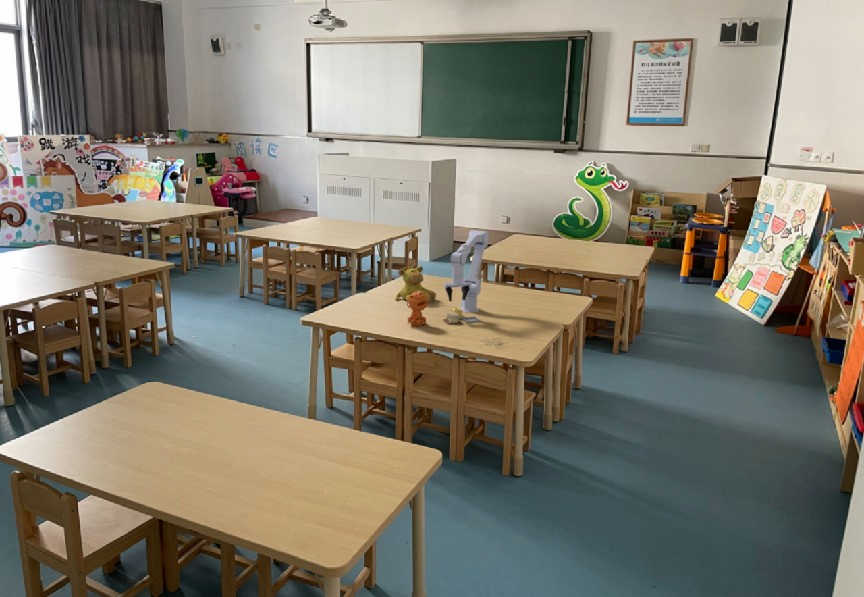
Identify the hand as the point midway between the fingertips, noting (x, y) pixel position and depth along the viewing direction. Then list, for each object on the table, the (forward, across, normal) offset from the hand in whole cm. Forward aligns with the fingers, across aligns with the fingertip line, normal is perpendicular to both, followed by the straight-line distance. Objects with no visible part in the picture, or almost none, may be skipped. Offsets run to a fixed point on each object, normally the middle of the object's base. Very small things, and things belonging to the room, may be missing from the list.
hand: (457, 300), depth 351 cm
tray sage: (+9, 0, 0) cm, 9 cm away
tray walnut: (+9, -5, -8) cm, 13 cm away
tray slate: (+9, +5, -8) cm, 13 cm away
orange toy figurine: (+10, -24, -6) cm, 26 cm away
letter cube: (+9, 0, 0) cm, 9 cm away
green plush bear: (+10, -10, +39) cm, 42 cm away
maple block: (+9, -5, -8) cm, 13 cm away
